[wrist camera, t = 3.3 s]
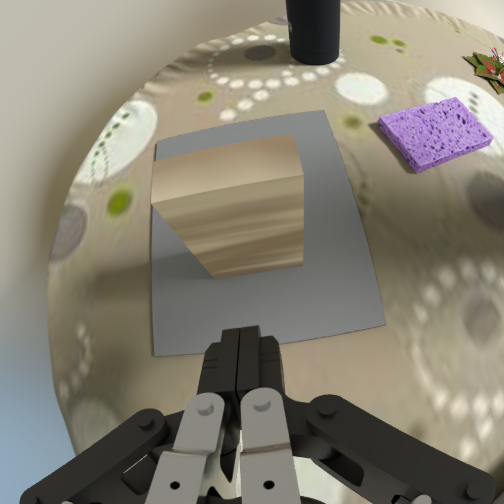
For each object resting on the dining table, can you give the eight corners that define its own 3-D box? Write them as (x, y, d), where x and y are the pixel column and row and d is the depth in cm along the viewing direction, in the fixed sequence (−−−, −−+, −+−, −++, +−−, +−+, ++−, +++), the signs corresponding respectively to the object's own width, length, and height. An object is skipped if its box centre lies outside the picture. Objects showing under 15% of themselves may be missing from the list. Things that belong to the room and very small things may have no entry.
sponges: (488, 147, 27) (494, 137, 25) (414, 177, 27) (419, 166, 25) (452, 106, 30) (456, 95, 28) (375, 127, 30) (378, 115, 28)
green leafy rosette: (537, 102, 29) (547, 83, 25) (498, 105, 29) (509, 82, 25) (492, 54, 34) (499, 35, 29) (448, 53, 34) (454, 31, 30)
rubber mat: (384, 325, 22) (386, 324, 22) (156, 356, 24) (154, 356, 23) (323, 112, 31) (324, 110, 30) (158, 143, 32) (157, 141, 32)
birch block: (303, 265, 24) (303, 174, 13) (214, 279, 25) (150, 203, 14) (297, 232, 26) (291, 129, 14) (212, 246, 26) (154, 157, 15)
